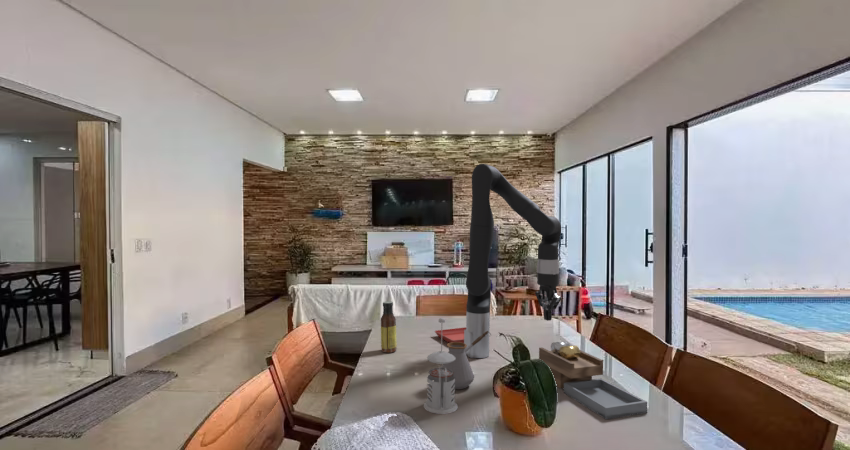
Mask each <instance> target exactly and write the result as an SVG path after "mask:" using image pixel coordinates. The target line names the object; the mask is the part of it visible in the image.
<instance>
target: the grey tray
mask: <svg viewBox="0 0 850 450" xmlns="http://www.w3.org/2000/svg"><path fill="white" fill-rule="evenodd" d="M563 393H564V394H565V393H566V394H565V395H567V396H568V395H569V396H568V397H570V398H571V397H572V398H571V399H573V400H574V399H575V401H576V402H577V403H579V404H580V405H582V406H584V407H585V408H587V409H589V410H590V411H592V412H594V413H595V414H597V415H599V416H600V417H602V418H603V419H605V420H609V419H617V418H623V417H629V416H636V415H641V414H647V413H648V401H647V400H645V399H642V398H641V397H640V396H639V397H638V396H637V395H635V394H634V393H630V392H628V391H627V390H625V389H623V388H621V387H619V386H617V385H615V384H614V383H611V382H609V381H607V380H605V379H603V378H594V379H593V378H592V380H584V381H576V382H568V383H564V388H563Z"/></svg>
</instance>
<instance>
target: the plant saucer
mask: <svg viewBox="0 0 850 450" xmlns="http://www.w3.org/2000/svg"><path fill="white" fill-rule="evenodd" d="M465 329H466V326H465V327H457V328H448V329H442V341H445V342H447V343H451V342H461V343H464V330H465ZM434 333H435V335H437V336H438V338H439V339H441V329H438V330H434Z"/></svg>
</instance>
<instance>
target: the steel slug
mask: <svg viewBox="0 0 850 450" xmlns="http://www.w3.org/2000/svg"><path fill="white" fill-rule="evenodd" d="M563 346H571V344H570V343H569V341H566V340H565V341H556V342H551V344H550V351H552V353H554V354H556V355H558V354H560V348H561V347H563Z"/></svg>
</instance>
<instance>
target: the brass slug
mask: <svg viewBox="0 0 850 450" xmlns="http://www.w3.org/2000/svg"><path fill="white" fill-rule="evenodd" d="M560 356H561V357H562V358H564V359H572V358H579V357H580V348H579V346H578V345H576V344H575V345H570V346H563V347H561V348H560Z"/></svg>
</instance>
